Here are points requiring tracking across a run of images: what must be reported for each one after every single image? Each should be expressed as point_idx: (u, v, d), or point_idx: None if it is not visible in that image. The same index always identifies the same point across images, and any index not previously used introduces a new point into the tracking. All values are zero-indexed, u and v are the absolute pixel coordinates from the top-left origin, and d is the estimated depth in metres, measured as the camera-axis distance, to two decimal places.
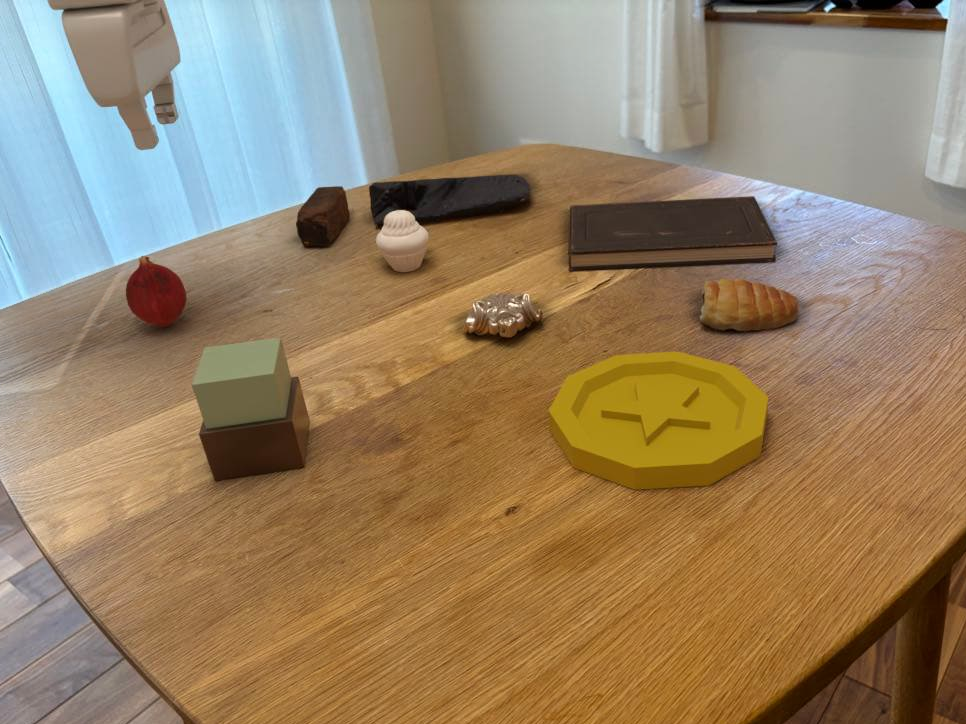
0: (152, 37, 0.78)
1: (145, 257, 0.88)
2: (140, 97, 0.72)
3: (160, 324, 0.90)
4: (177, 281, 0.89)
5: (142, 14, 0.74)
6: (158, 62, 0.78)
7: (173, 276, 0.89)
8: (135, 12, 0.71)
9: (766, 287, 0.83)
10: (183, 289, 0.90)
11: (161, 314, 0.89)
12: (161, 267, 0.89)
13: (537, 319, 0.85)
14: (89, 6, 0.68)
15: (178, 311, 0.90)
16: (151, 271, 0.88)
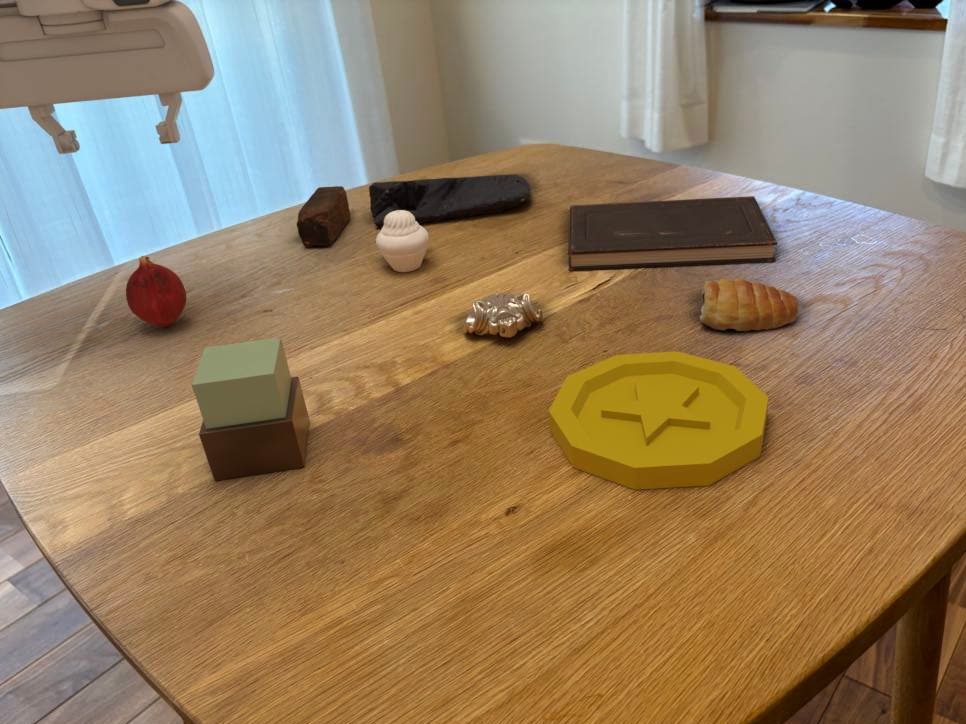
0: None
1: (145, 257, 0.88)
2: None
3: (160, 324, 0.90)
4: (177, 281, 0.89)
5: None
6: None
7: (173, 276, 0.89)
8: None
9: (766, 287, 0.83)
10: (183, 289, 0.90)
11: (161, 314, 0.89)
12: (161, 267, 0.89)
13: (537, 319, 0.85)
14: None
15: (178, 311, 0.90)
16: (151, 271, 0.88)
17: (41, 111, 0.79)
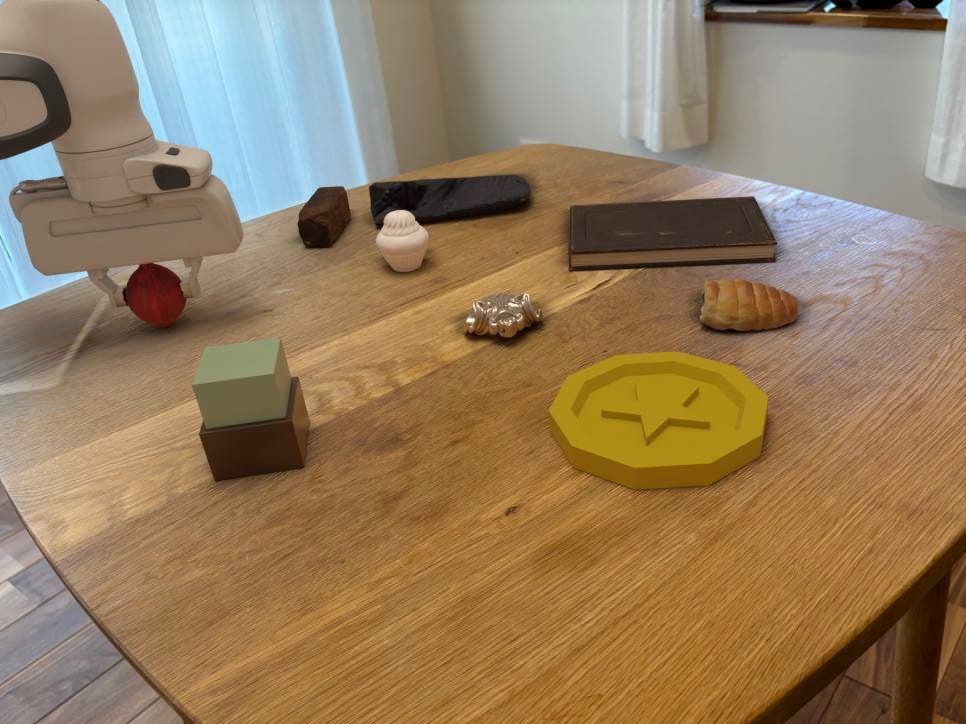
0: None
1: None
2: None
3: (160, 324, 0.90)
4: (177, 282, 0.89)
5: None
6: None
7: (173, 276, 0.89)
8: None
9: (766, 287, 0.83)
10: None
11: (161, 314, 0.89)
12: (161, 267, 0.89)
13: (537, 319, 0.85)
14: None
15: (178, 311, 0.90)
16: (151, 271, 0.88)
17: (98, 273, 0.87)
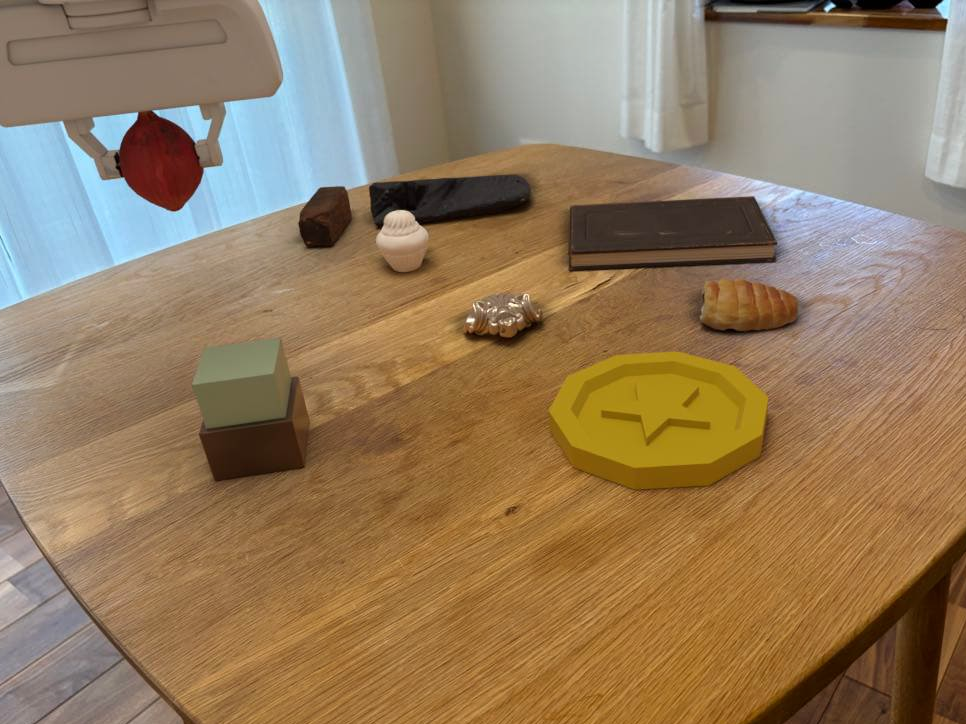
0: None
1: None
2: None
3: (168, 204, 0.65)
4: (191, 142, 0.64)
5: None
6: None
7: (185, 135, 0.64)
8: None
9: (766, 287, 0.83)
10: None
11: (170, 187, 0.63)
12: (168, 121, 0.63)
13: (537, 319, 0.85)
14: None
15: (192, 184, 0.64)
16: (154, 124, 0.62)
17: (80, 126, 0.61)
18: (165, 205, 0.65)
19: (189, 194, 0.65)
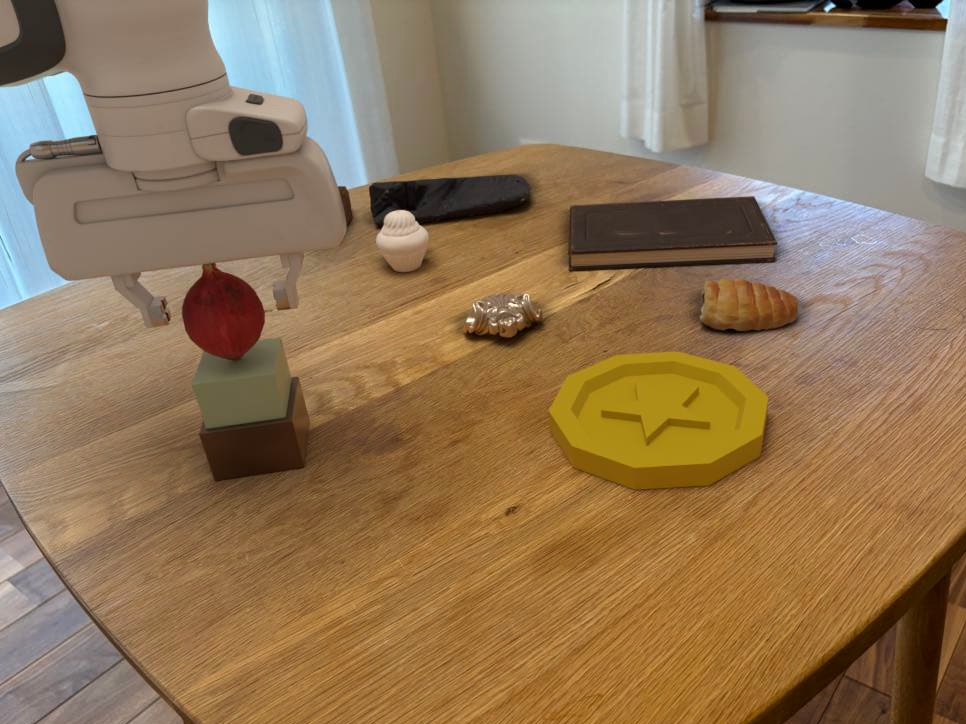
0: None
1: None
2: None
3: (229, 356, 0.64)
4: (254, 297, 0.64)
5: None
6: None
7: (249, 290, 0.63)
8: None
9: (766, 287, 0.83)
10: (261, 308, 0.64)
11: (233, 343, 0.63)
12: (232, 277, 0.63)
13: (537, 319, 0.85)
14: None
15: (254, 338, 0.64)
16: (219, 283, 0.62)
17: (127, 280, 0.61)
18: (226, 357, 0.65)
19: (250, 346, 0.65)
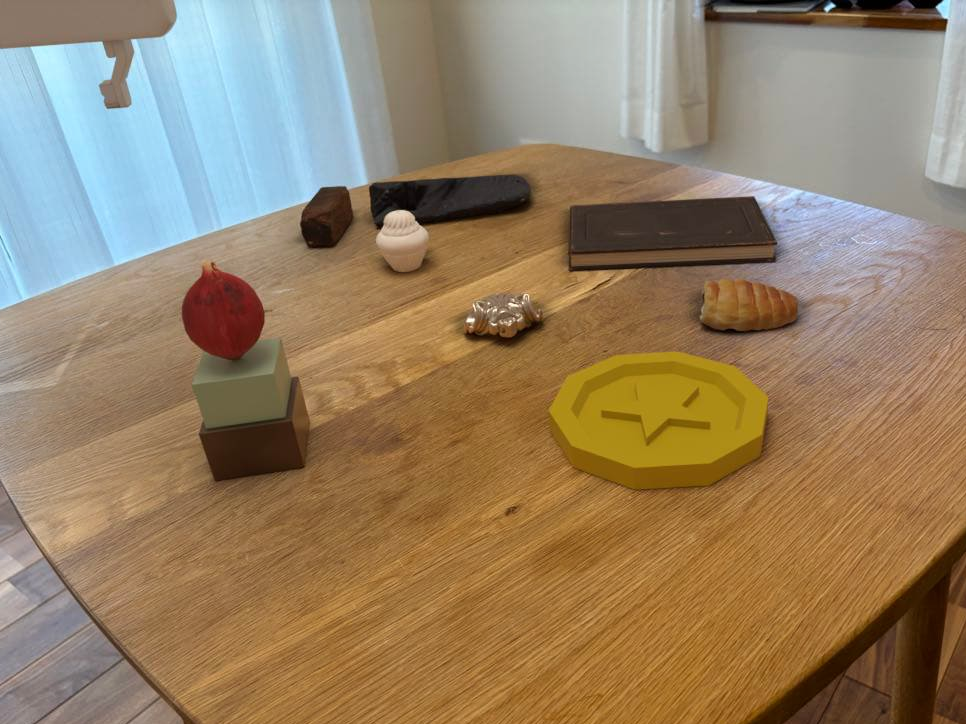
0: None
1: (210, 263, 0.62)
2: None
3: (229, 356, 0.64)
4: (253, 297, 0.64)
5: None
6: None
7: (248, 290, 0.63)
8: None
9: (766, 287, 0.83)
10: (261, 307, 0.64)
11: (233, 343, 0.63)
12: (232, 277, 0.63)
13: (537, 319, 0.85)
14: None
15: (254, 338, 0.64)
16: (219, 283, 0.62)
17: None
18: (226, 357, 0.65)
19: (250, 346, 0.65)
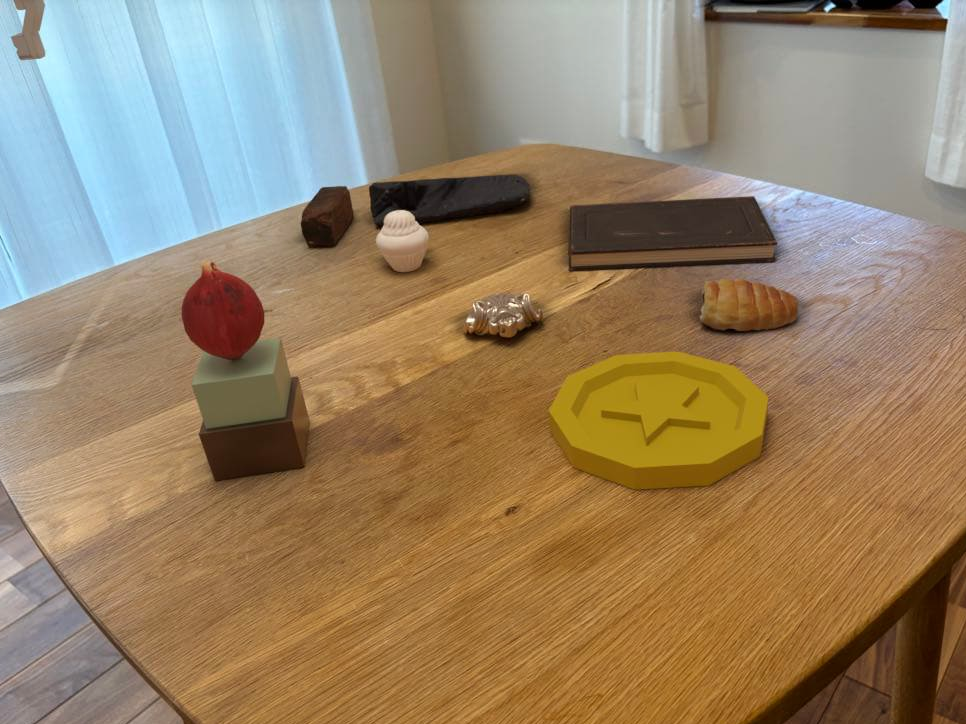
0: None
1: (210, 263, 0.62)
2: None
3: (229, 357, 0.64)
4: (253, 297, 0.64)
5: None
6: None
7: (248, 290, 0.63)
8: None
9: (766, 287, 0.83)
10: (261, 307, 0.64)
11: (232, 343, 0.63)
12: (232, 277, 0.63)
13: (537, 319, 0.85)
14: None
15: (254, 338, 0.64)
16: (219, 283, 0.62)
17: None
18: (226, 357, 0.65)
19: (250, 346, 0.65)
